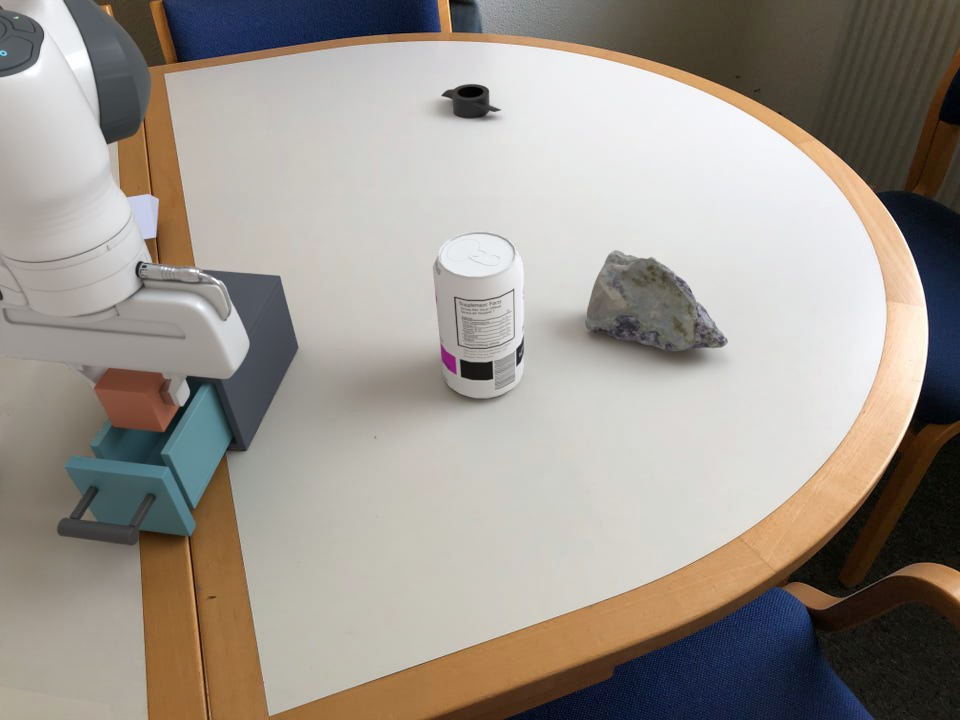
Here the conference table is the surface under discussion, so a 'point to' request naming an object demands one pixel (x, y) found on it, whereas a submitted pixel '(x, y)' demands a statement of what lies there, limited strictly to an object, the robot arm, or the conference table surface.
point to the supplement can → (480, 313)
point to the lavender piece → (145, 213)
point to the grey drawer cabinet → (255, 351)
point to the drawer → (149, 473)
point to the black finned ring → (470, 100)
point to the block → (134, 399)
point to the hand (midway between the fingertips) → (144, 396)
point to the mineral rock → (649, 306)
